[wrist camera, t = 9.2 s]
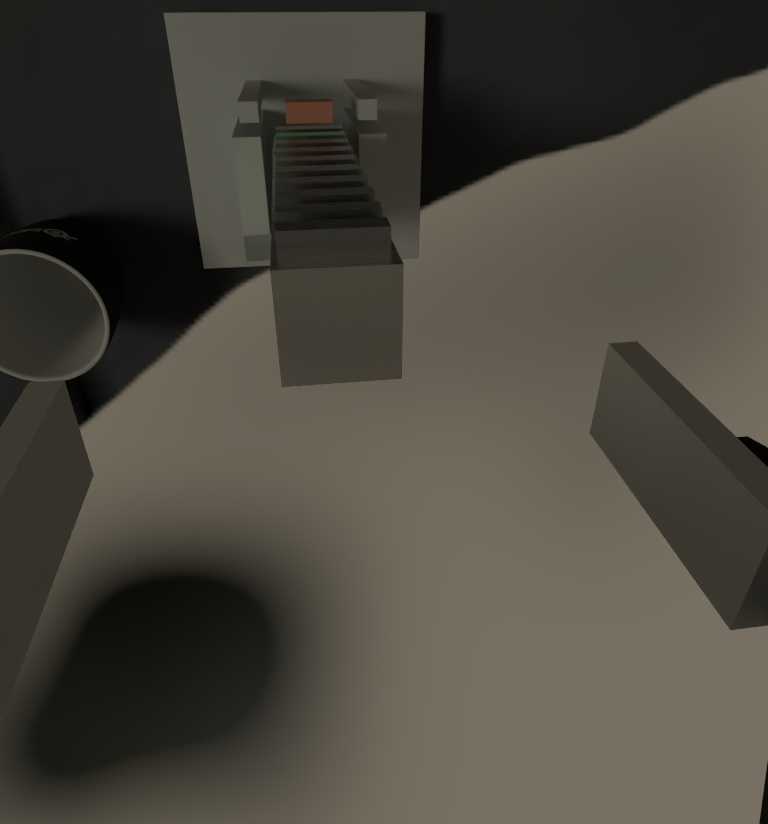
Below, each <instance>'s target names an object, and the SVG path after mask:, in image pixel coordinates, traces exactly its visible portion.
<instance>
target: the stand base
mask: <svg viewBox="0 0 768 824" xmlns="http://www.w3.org/2000/svg"><path fill="white" fill-rule="evenodd" d="M425 14H426V12H423V11H329V12H166V13H164V18H165V24H166V30H167V37H168V43H169V49H170V56H171V62H172V68H173V75H174V81H175V87H176V94H177V100H178V106H179V113H180V119H181V125H182V132H183V138H184V144H185V151H186V157H187V164H188V170H189V176H190V183H191V189H192V195H193V202H194V208H195V214H196V221H197V227H198V233H199V240H200V246H201V252H202V259H203V265H204V269H208V268H229V267H249V266H270V261H271V220H272V178H273V158H272V148H273V136H276V127H281V126H322V125H341V126H342V128H343V131H344V132H345V134H346V138H348V140H349V146H352V148H353V154H356V156H357V158H358V164H361V166H362V168H363V175H366V176H367V178H368V180H369V187H372V189H373V191H374V193H375V201H379V203H380V205H381V207H382V209H383V217H387V219H388V221H389V223H390V225H391V239H392V241H393V243H394V245H395V247H396V249H397V251H398V254H399V256H400V258H401V259H414V258H418V257H419V221H420V187H421V153H422V118H423V83H424V48H425Z"/></svg>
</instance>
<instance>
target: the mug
mask: <svg viewBox="0 0 768 824" xmlns="http://www.w3.org/2000/svg"><path fill="white" fill-rule="evenodd" d="M124 289H125V277H124V269H123V265H122V262H121V259H120V256H119V254H118V252H117V251H116V249H115V247H114V246H113V245H112V243H111V242H110V241H109V240H108V239H107V238H106V237H105V236H104V235H103V234H101V233H100V232H99V231H97V230H96V229H94V228H93V227H91V226H89V225H86V224H84V223H81V222H78V221H74V220H69V219H50V220H45V221H40V222H37V223H34V224H31V225H28V226H25V227H23V228H21V229H19V230H17V231H14V232H13V233H11V234H9V235H7V236H5V237H4V238H2V239H0V370H1V371H3V372H5V373H7V374H9V375H12V376H15V377H17V378H21V379H25V380H30V381H36V382H44V381H59V380H69V379H72V378H75V377H77V376H80V375H82V374H83V373H85V372H87V371H88V370H90V369H91V368H92V367H93V366H94V365H96V364H97V362H98V361H99V360H100V359H101V358H102V356H103V355H104V353H105V352H106V350H107V348H108V346H109V344H110V342H111V340H112V337H113V334H114V332H115V329H116V326H117V323H118V320H119V316H120V312H121V308H122V304H123V297H124Z"/></svg>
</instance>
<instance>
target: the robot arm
mask: <svg viewBox="0 0 768 824" xmlns="http://www.w3.org/2000/svg"><path fill="white" fill-rule="evenodd" d="M590 434H591V435H592V437H593V438H594V440H595V441H596V443H597V444H598V445H599V447H600V448H601V450H602V451H603V452H604V453H605V455H606V457H607V458H608V459H609V461H610V462H611V464H612V465H613V466H614V468H615V469H616V470H617V472H618V473H619V475H620V476H621V477H622V479H623V480H624V482H625V483H626V484H627V486H628V487H629V489H630V490H631V491H632V493H633V494H634V496H635V497H636V499H637V500H638V501H639V503H640V504H641V505H642V507H643V508H644V510H645V511H646V512H647V514H648V515H649V517H650V518H651V520H652V521H653V522H654V524H655V525H656V527H657V528H658V529H659V531H660V532H661V534H662V535H663V536H664V538H665V539H666V540H667V542H668V543H669V545H670V546H671V548H672V549H673V550H674V552H675V553H676V555H677V556H678V557H679V559H680V560H681V561H682V563H683V564H684V566H685V567H686V569H687V570H688V571H689V573H690V574H691V575H692V577H693V578H694V580H695V581H696V583H697V584H698V585H699V587H700V588H701V589H702V591H703V592H704V594H705V595H706V597H707V598H708V599H709V600H710V602H711V604H712V605H713V606H714V608H715V609H716V610H717V612H718V613H719V615H720V616H721V618H722V619H723V620H724V622H725V623H726V625H727V626H728V627H729V629H730V630H735V629H742V628H750V627H759V626H766V625H768V448H767V447H766V446H764V445H762V444H760V443H758V442H756V441H754V440H753V439H751V438H749V437H736V436H735V435H734V434H733V433H732V432H731V431H730V430H728V429H727V428H726V427H725V426H724V425H723V424H722V423H721V422H720V421H719V420H718V419H717V418H716V417H715V416H714V415H713V414H712V413H711V412H710V411H709V410H708V409H707V408H706V407H705V406H704V405H703V404H702V403H700V402H699V401H698V400H697V399H696V398H695V397H694V396H693V395H692V394H691V393H690V392H689V391H688V390H687V389H686V388H685V387H684V386H683V385H682V384H681V383H680V382H679V381H678V380H677V379H676V378H674V376H672V375H671V374H670V373H669V372H668V371H667V370H666V369H665V368H664V367H663V366H662V365H661V364H660V363H659V362H658V361H657V360H656V359H655V358H653V356H652V355H651V354H650V353H649V352H648V351H646V350H645V349H644V348H643V347H642V346H641V345H640V344H639V343H638V342H622V343H609V344H608V348H607V353H606V358H605V363H604V368H603V373H602V377H601V382H600V387H599V391H598V396H597V401H596V406H595V410H594V415H593V420H592V425H591V429H590ZM92 478H93V471H92V468H91V465H90V462H89V459H88V455H87V452H86V449H85V446H84V443H83V440H82V436H81V433H80V430H79V426H78V423H77V420H76V417H75V414H74V410H73V407H72V404H71V401H70V398H69V394H68V391H67V388H66V385H65V381H64V380H59V381H44V382H29V383H28V385H27V386H26V388H25V389H24V391H23V393H22V394H21V396H20V397H19V399H18V400H17V402H16V404H15V405H14V407H13V408H12V410H11V412H10V413H9V415H8V416H7V418H6V419H5V421H4V423H3V424H2V426H1V427H0V721H1V719H2V717H3V714H4V712H5V709H6V706H7V704H8V701H9V698H10V696H11V693H12V690H13V688H14V685H15V682H16V680H17V677H18V674H19V672H20V669H21V666H22V664H23V661H24V658H25V656H26V653H27V650H28V648H29V645H30V642H31V640H32V637H33V635H34V632H35V629H36V626H37V624H38V621H39V619H40V616H41V613H42V611H43V608H44V605H45V603H46V600H47V597H48V595H49V592H50V589H51V587H52V584H53V581H54V579H55V576H56V573H57V571H58V568H59V565H60V563H61V560H62V557H63V555H64V552H65V549H66V547H67V544H68V541H69V539H70V536H71V533H72V530H73V528H74V526H75V523H76V520H77V518H78V515H79V512H80V510H81V507H82V504H83V501H84V499H85V496H86V494H87V491H88V488H89V486H90V483H91V480H92ZM760 824H768V763H767V771H766V778H765V786H764V794H763V801H762V809H761V816H760Z"/></svg>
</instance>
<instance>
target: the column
mask: <svg viewBox="0 0 768 824" xmlns="http://www.w3.org/2000/svg"><path fill="white" fill-rule="evenodd" d="M272 158H273V178H272V220H271V261H270V273H271V283H272V293H273V303H274V312H275V322H276V332H277V342H278V353H279V363H280V373H281V382H282V387H288V386H302V385H315V384H316V385H317V384H331V383H345V382H359V381H374V380H388V379H401V378H402V325H403V321H402V320H403V262H402V260H401V258H400V256H399V254H398V251H397V249H396V247H395V245H394V243H393V241H392V239H391V225H390V223H389V221H388V219H387V217H383V209H382V207H381V205H380V203H379V201H375V193H374V191H373V189H372V187H369V180H368V178H367V176H366V175H363V168H362V166H361V164H358V158H357V156H356V154H353V148H352V146H349V140H348V138H346V134H345V132H344V131H343V128H342V126H341V125H322V126H281V127H276V136H273V148H272Z"/></svg>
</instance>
